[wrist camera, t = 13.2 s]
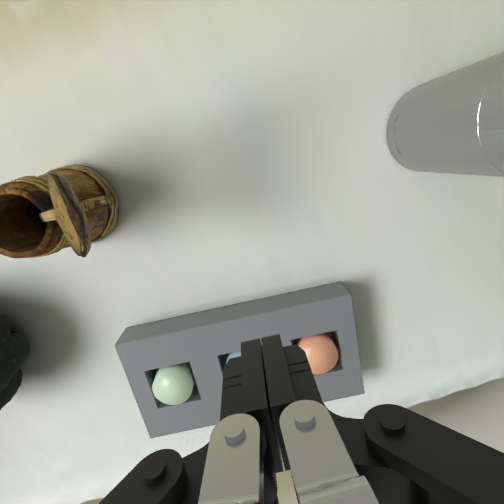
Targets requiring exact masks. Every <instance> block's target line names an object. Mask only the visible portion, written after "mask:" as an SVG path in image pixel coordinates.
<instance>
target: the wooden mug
mask: <svg viewBox="0 0 504 504" xmlns="http://www.w3.org/2000/svg"><path fill="white" fill-rule="evenodd" d="M118 214H119V209H118V200H117V196H116V194H115V191H114V190H113V188H112V187H111V186H110V184H109V183H108V182H107V181H106V180H105V179H104V178H103V177H102V176H101V175H100V174H99V173H97V172H95V171H94V170H92V169H91V168H88V167H84V166H79V165H70V166H65V167H60V168H57V169H53V170H50V171H49V172H47V173H45V174H44V175H41V176H38V177H36V176H25V177H21V178H18V179H15V180H12V181H10V182H7V183H4V184H1V185H0V254H2V255H5V256H8V257H12V258H36V257H42V256H46V255H50V254H53V253H56V252H58V251H60V250H61V249H63V248H67V247H72V249H73V250H74V252H75V253H76V254H77V255H78V256H82V257H86V255H87V254H88V252H89V251H90V247H91V243H94V242H97V241H99V240H101V239H103V238H105V237H106V236H107V235H108V234H109V233H111V231H112V230H113V228H114V227H115V225H116V224H117V219H118Z"/></svg>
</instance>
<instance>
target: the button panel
mask: <svg viewBox="0 0 504 504" xmlns="http://www.w3.org/2000/svg"><path fill="white" fill-rule="evenodd" d="M326 332H328V333H329V335H330V337H331V339H332V341H333V343H334V344H335V346H336V348H337V350H338V361H337V363H336V365H335V366H334V367H333V368H332V369H331V370H330V371H328V372H326V373H324V374H318V375H316V374H313V376H314V379H315V382H316V384H317V387H318V390H319V393H320V396H321V399H322V401H323V402H326V401H331V400H336V399H340V398H345V397H350V396H355V395H360V394H364V386H363V378H362V371H361V364H360V356H359V349H358V342H357V335H356V327H355V320H354V313H353V305H352V298H351V294H350V293H349V291H348V290H347V289H346V288H345V287H344V285H343V284H342V283H341V282H336V283H331V284H327V285H322V286H317V287H313V288H308V289H304V290H299V291H294V292H290V293H285V294H280V295H276V296H271V297H267V298H262V299H257V300H253V301H248V302H243V303H239V304H234V305H229V306H225V307H220V308H216V309H211V310H206V311H202V312H197V313H192V314H188V315H183V316H179V317H174V318H169V319H165V320H160V321H155V322H151V323H146V324H142V325H137V326H132V327H128V328H126V329H125V330H124V332H123V333H122V335H121V336H120V338H119V339H118V341H117V342H116V344H115V347H116V350H117V353H118V355H119V358H120V360H121V363H122V365H123V368H124V371H125V373H126V376H127V378H128V381H129V384H130V386H131V389H132V391H133V394H134V397H135V399H136V402H137V404H138V407H139V409H140V412H141V415H142V417H143V420H144V422H145V425H146V428H147V430H148V433H149V435H150V438H154V437H159V436H164V435H168V434H173V433H178V432H183V431H188V430H192V429H197V428H202V427H207V426H211V425H216V424H218V423H219V422H220V411H221V396H222V382H223V368H224V367H225V365H226V354H227V353H232V352H237V351H241V342H244V341H248V340H253V339H258V338H260V341H261V338H262V337H267V336H271V335H276V334H280V337H281V342H282V346H283V347H285V346H290V345H294V341H295V339H298V338H302V337H307V336H312V335H316V334H321V333H326ZM261 345H262V341H261ZM185 362H190V365H191V368H192V371H193V375H194V378H195V380H194V385H193V390H192V394H191V396H190V397H189V399H188V400H186V401H185V402H183V403H181V404H177V405H169V404H165V403H162V402H161V401H159V400H158V399H157V398H156V397H155V395H154V393H153V390H152V385H153V382H154V379H155V376H156V374H157V371H158V369H159V368H162V367H166V366H171V365H176V364H181V363H185Z"/></svg>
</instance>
